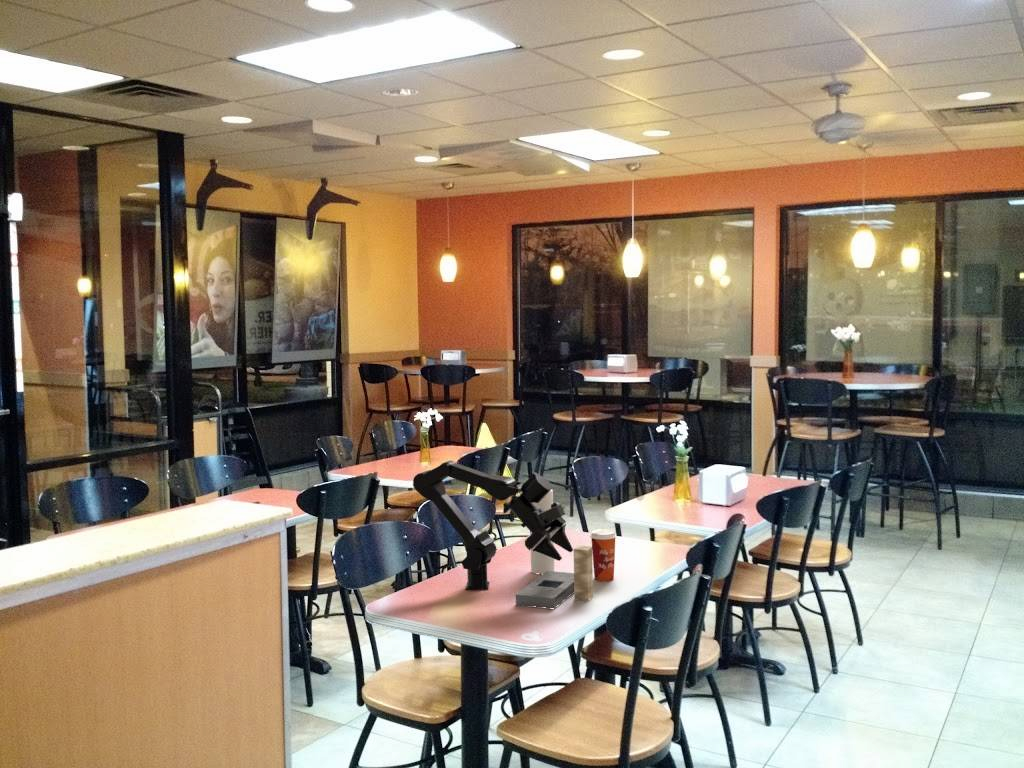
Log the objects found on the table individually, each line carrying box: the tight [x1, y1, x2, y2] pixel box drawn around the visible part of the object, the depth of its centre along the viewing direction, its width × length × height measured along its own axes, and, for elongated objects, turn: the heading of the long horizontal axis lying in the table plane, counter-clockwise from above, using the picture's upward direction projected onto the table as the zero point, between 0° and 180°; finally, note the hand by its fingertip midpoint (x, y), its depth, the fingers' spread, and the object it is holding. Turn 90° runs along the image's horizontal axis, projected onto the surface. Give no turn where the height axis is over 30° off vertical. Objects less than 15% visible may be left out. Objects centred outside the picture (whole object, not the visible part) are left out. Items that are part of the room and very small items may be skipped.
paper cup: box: [589, 528, 617, 582], centre depth 269 cm, size 8×8×14 cm
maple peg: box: [573, 545, 594, 601], centre depth 251 cm, size 4×4×14 cm
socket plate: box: [515, 571, 574, 609], centre depth 256 cm, size 11×24×3 cm, turn 157°
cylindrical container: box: [529, 489, 556, 575], centre depth 278 cm, size 7×7×25 cm
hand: (566, 555), depth 253 cm, fingers open, 9 cm apart
